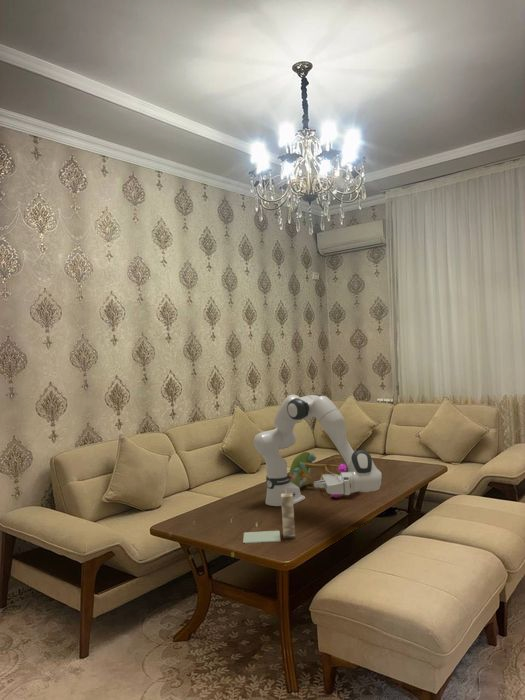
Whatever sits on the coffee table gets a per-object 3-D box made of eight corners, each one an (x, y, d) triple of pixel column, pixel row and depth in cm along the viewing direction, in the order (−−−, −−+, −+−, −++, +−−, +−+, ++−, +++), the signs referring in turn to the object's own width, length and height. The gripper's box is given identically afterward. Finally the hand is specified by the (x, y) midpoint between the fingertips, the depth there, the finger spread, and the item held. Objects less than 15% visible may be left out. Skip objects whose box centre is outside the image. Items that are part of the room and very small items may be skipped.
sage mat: (279, 531, 236) (279, 530, 236) (280, 541, 224) (280, 540, 224) (244, 533, 236) (243, 532, 236) (243, 543, 224) (243, 542, 224)
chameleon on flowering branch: (310, 434, 311) (365, 445, 292) (312, 476, 320) (366, 490, 301) (284, 456, 288) (343, 471, 269) (287, 501, 296) (344, 518, 277)
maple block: (294, 533, 232) (292, 493, 232) (295, 537, 227) (292, 496, 227) (283, 534, 232) (280, 493, 232) (283, 538, 227) (281, 497, 227)
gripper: (341, 469, 240) (311, 471, 240) (348, 481, 220) (316, 483, 220) (342, 483, 240) (312, 485, 240) (349, 496, 220) (316, 498, 220)
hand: (313, 484), depth 230 cm, fingers closed
